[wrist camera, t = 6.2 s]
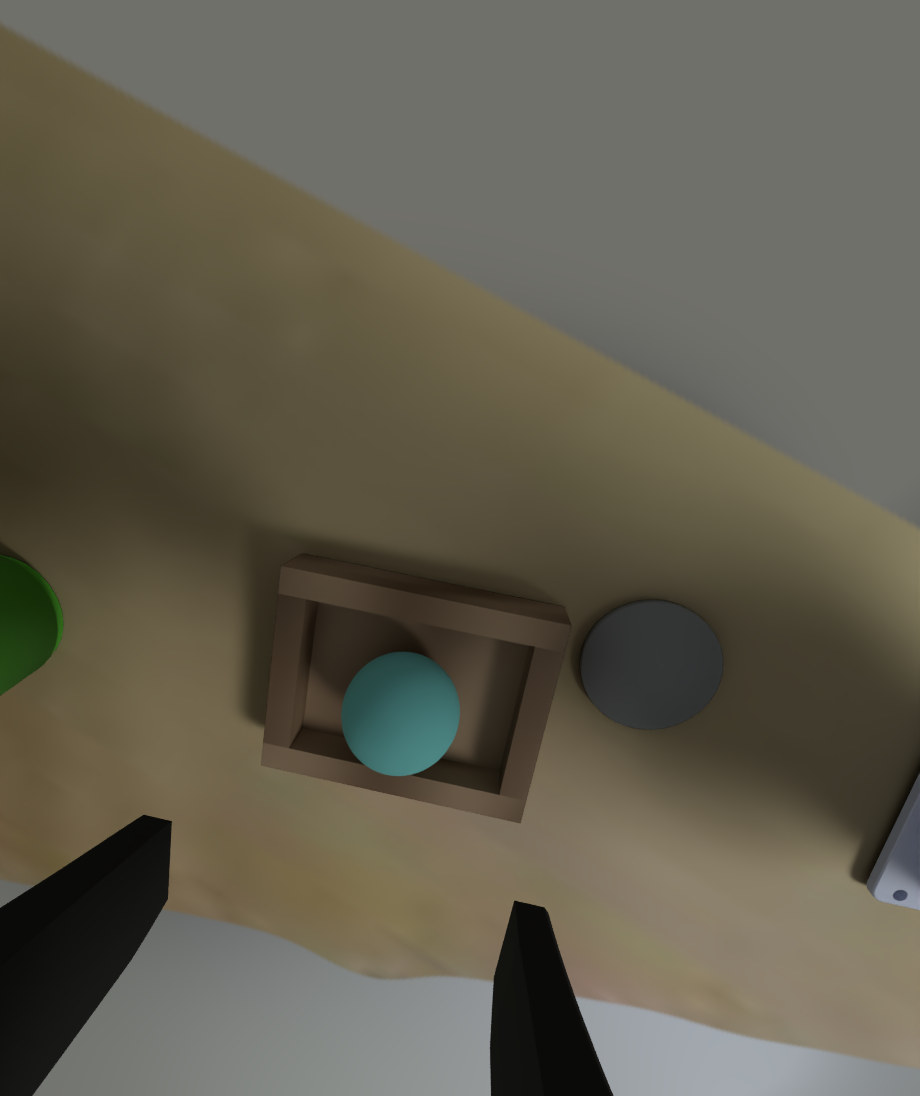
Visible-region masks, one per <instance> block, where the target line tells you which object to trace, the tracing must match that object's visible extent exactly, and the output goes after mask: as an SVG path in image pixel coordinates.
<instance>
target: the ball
mask: <svg viewBox="0 0 920 1096" xmlns="http://www.w3.org/2000/svg"><path fill="white" fill-rule="evenodd" d="M459 718H460V704H459V698H458V694H457V691H456V688H455V686H454V684H453V682H452V680H451V678H450V677H449V675H448V674H447V673H446V672H445V670H444V669H443V668H442V667H441V666H440V665H438V664H437V663H436V662H435V661H433V660H431V659H430V658H428V657H426V656H423V655H420V654H417V653H412V652H393V653H389V654H385V655H382V656H380V657H378V658H376V659H374V660H372V661H371V662H369V663H368V664H366V665H365V666H364V667H363V668H362V669H361V670H360V671H359V672H358V673H357V674H356V675H355V677H354V678H353V679H352V681H351V683H350V685H349V686H348V688H347V691H346V693H345V696H344V699H343V704H342V711H341V721H342V729H343V733H344V736H345V739H346V742H347V744H348V746H349V748H350V749H351V751H352V752H353V754H354V755H355V756H356V757H357V758H358V759H359V760H360V761H361V762H362V763H363V764H364V765H366V766H367V767H369V768H370V769H372V770H374V771H376V772H379V773H382V774H385V775H390V776H406V775H412V774H415V773H418V772H421V771H423V770H425V769H427V768H428V767H430V766H432V765H433V764H434V763H436V762H437V761H438V760H439V759H440V758H441V757H442V756H443V755H444V754H445V753H446V751H447V750H448V748H449V747H450V745H451V744H452V742H453V740H454V737H455V735H456V732H457V729H458V725H459Z"/></svg>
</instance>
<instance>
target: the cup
mask: <svg viewBox="0 0 920 1096" xmlns="http://www.w3.org/2000/svg"><path fill="white" fill-rule="evenodd" d="M62 632H63V616H62V610H61V607H60V604H59V601H58V599H57V597H56V595H55V593H54V592H53V590H52V588H51V587H50V585H49V584H48V583H47V582H46V581H45V579H44V578H43V577H42V576H41V575H40V574H39V573H38V572H36V571H35V570H34V569H32V568H31V567H30V566H29V565H27V564H25V563H23V562H21V561H19V560H17V559H15V558H11V557H7V556H3V555H0V695H2V694H3V693H5V692H6V691H7V690H9V689H10V688H12V687H13V686H15V685H16V684H17V683H19V682H20V681H22V680H23V679H24V678H26V677H27V676H29V675H30V674H31V673H33V672H34V671H36V670H37V669H39V668H40V667H41V666H43V664H44V663H45V662H46V661H47V660H48V659H49V658H50V657H51V655H52V653H53V652H54V651H55V650H56V648H57V647H58V644H59V642H60V640H61V638H62Z"/></svg>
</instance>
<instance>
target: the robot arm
mask: <svg viewBox="0 0 920 1096" xmlns="http://www.w3.org/2000/svg"><path fill="white" fill-rule="evenodd" d="M171 826H172V821H169V820H164V819H160V818H156V817H151V816H147V815H143V816H141V817H139V818H138V819H136V820H135V821H133V822H132V823H130V824H129V825H127V826H125V827H124V828H122V829H121V830H119V831H118V832H116V833H115V834H113V835H112V836H110V837H109V838H107V839H106V840H104V841H103V842H101V843H100V844H98V845H97V846H95V847H94V848H92V849H91V850H89V851H88V852H86V853H85V854H83V855H82V856H80V857H79V858H77V859H76V860H74V861H72V862H71V863H69V864H68V865H66V866H65V867H63V868H62V869H60V870H59V871H57V872H56V873H54V874H53V875H51V876H49V877H48V878H46V879H45V880H43V881H42V882H40V883H39V884H37V885H35V886H34V887H32V888H31V889H29V890H28V891H26V892H24V893H23V894H21V895H20V896H18V897H17V898H15V899H13V900H12V901H10V902H9V903H7V904H6V905H4V906H2V907H1V908H0V1096H32V1095H33V1094H34V1093H35V1091H36V1090H37V1088H38V1087H39V1086H40V1084H41V1083H42V1082H43V1080H44V1079H45V1078H46V1076H47V1075H48V1073H49V1072H50V1071H51V1069H52V1068H53V1067H54V1065H55V1064H56V1063H57V1061H58V1060H59V1058H60V1057H61V1056H62V1054H63V1053H64V1052H65V1050H66V1049H67V1047H68V1046H69V1045H70V1044H71V1042H72V1041H73V1039H74V1038H75V1037H76V1035H77V1034H78V1033H79V1031H80V1030H81V1029H82V1027H83V1026H84V1024H85V1023H86V1022H87V1020H88V1019H89V1018H90V1016H91V1015H92V1014H93V1012H94V1011H95V1009H96V1008H97V1007H98V1005H99V1004H100V1002H101V1001H102V1000H103V998H104V997H105V996H106V994H107V993H108V991H109V990H110V989H111V987H112V986H113V984H114V983H115V982H116V980H117V979H118V978H119V976H120V975H121V974H122V972H123V971H124V969H125V968H126V967H127V965H128V964H129V962H130V961H131V960H132V958H133V956H134V955H135V953H136V951H137V950H138V948H139V947H140V945H141V943H142V942H143V940H144V938H145V937H146V935H147V933H148V932H149V930H150V929H151V927H152V925H153V923H154V922H155V920H156V918H157V917H158V915H159V913H160V912H161V910H162V908H163V906H164V905H165V903H166V901H167V900H168V886H169V866H170V846H171ZM866 886H867V889H868V890H869V892H870V893H871V894H872V895H873V897H874V898H875V899H876V900H879V901H881V902H886V903H890V904H895V905H899V906H904V907H908V908H913V909H917V910H920V773H919V775H918V777H917V779H916V781H915V783H914V785H913V787H912V790H911V792H910V794H909V796H908V798H907V800H906V802H905V804H904V806H903V808H902V810H901V812H900V814H899V817H898V819H897V821H896V823H895V825H894V827H893V829H892V831H891V833H890V835H889V837H888V839H887V841H886V843H885V846H884V848H883V850H882V852H881V854H880V856H879V858H878V860H877V862H876V864H875V866H874V868H873V870H872V873H871V875H870V877H869V879H868V881H867V885H866ZM490 1065H491V1066H490V1068H491V1096H613V1093H612V1091H611V1089H610V1086H609V1084H608V1081H607V1079H606V1077H605V1074H604V1072H603V1069H602V1067H601V1064H600V1062H599V1059H598V1057H597V1054H596V1051H595V1049H594V1047H593V1044H592V1041H591V1038H590V1036H589V1033H588V1031H587V1028H586V1026H585V1023H584V1020H583V1017H582V1015H581V1012H580V1010H579V1007H578V1004H577V1001H576V998H575V996H574V993H573V990H572V987H571V984H570V981H569V978H568V975H567V972H566V969H565V966H564V963H563V960H562V957H561V954H560V951H559V948H558V945H557V941H556V938H555V935H554V931H553V928H552V925H551V921H550V917H549V914H548V912H547V911H546V909H545V908H544V907H540V906H536V905H531V904H527V903H523V902H518V901H514V904H513V908H512V911H511V915H510V919H509V923H508V926H507V930H506V934H505V938H504V941H503V945H502V949H501V952H500V956H499V960H498V964H497V967H496V971H495V975H494V985H493V1002H492V1021H491V1039H490Z"/></svg>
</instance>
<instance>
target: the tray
mask: <svg viewBox="0 0 920 1096" xmlns="http://www.w3.org/2000/svg"><path fill="white" fill-rule="evenodd" d="M570 629H571V623H570V621H569V618H568V615H567V612H566V610H565V607H562V606H557V605H552V604H547V603H542V602H537V601H532V600H527V599H522V598H518V597H513V596H508V595H503V594H498V593H493V592H488V591H483V590H478V589H473V588H469V587H464V586H459V585H454V584H449V583H444V582H439V581H434V580H429V579H424V578H420V577H415V576H410V575H405V574H400V573H395V572H390V571H385V570H380V569H375V568H370V567H366V566H361V565H356V564H351V563H346V562H341V561H336V560H331V559H326V558H321V557H317V556H312V555H307V554H300V555H299V556H297V557H295V558H294V559H292V560H290V561H288V562H287V563H285V564H283V565H282V566H281V568H280V578H279V588H278V598H277V608H276V618H275V628H274V638H273V649H272V659H271V669H270V679H269V689H268V699H267V709H266V719H265V729H264V739H263V749H262V759H261V765H262V766H266V767H271V768H275V769H280V770H284V771H289V772H293V773H297V774H302V775H306V776H311V777H315V778H320V779H324V780H329V781H333V782H338V783H342V784H347V785H351V786H356V787H360V788H365V789H369V790H374V791H378V792H383V793H387V794H391V795H396V796H400V797H405V798H409V799H414V800H418V801H423V802H427V803H432V804H436V805H441V806H445V807H450V808H454V809H459V810H463V811H468V812H472V813H476V814H481V815H485V816H490V817H494V818H499V819H503V820H508V821H512V822H517V823H521V819H522V815H523V811H524V807H525V803H526V800H527V796H528V792H529V788H530V784H531V780H532V776H533V772H534V769H535V765H536V761H537V757H538V753H539V749H540V745H541V741H542V738H543V734H544V730H545V726H546V722H547V718H548V714H549V710H550V707H551V703H552V699H553V695H554V691H555V687H556V683H557V679H558V676H559V672H560V668H561V664H562V660H563V656H564V652H565V648H566V645H567V641H568V637H569V633H570ZM393 652H412V653H417V654H420V655H423V656H426V657H428V658H430V659H431V660H433V661H435V662H436V663H437V664H438V665H440V666H441V667H442V668H443V669H444V670H445V672H446V673H447V674H448V675H449V677H450V678H451V680H452V682H453V684H454V686H455V688H456V691H457V694H458V698H459V704H460V718H459V725H458V729H457V732H456V735H455V737H454V740H453V742H452V744H451V745H450V747H449V748H448V750H447V751H446V753H445V754H444V755H443V756H442V757H441V758H440V759H439V760H438V761H437V762H436V763H434V764H433V765H432V766H430V767H428V768H427V769H425V770H423V771H421V772H418V773H415V774H412V775H406V776H390V775H385V774H382V773H379V772H376V771H374V770H372V769H370V768H369V767H367V766H366V765H364V764H363V763H362V762H361V761H360V760H359V759H358V758H357V757H356V756H355V755H354V754H353V752H352V751H351V749H350V748H349V746H348V744H347V742H346V739H345V736H344V733H343V729H342V721H341V711H342V704H343V699H344V696H345V693H346V691H347V688H348V686H349V685H350V683H351V681H352V679H353V678H354V677H355V675H356V674H357V673H358V672H359V671H360V670H361V669H362V668H363V667H364V666H365V665H366V664H368V663H369V662H371V661H372V660H374V659H376V658H378V657H380V656H382V655H385V654H389V653H393Z"/></svg>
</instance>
